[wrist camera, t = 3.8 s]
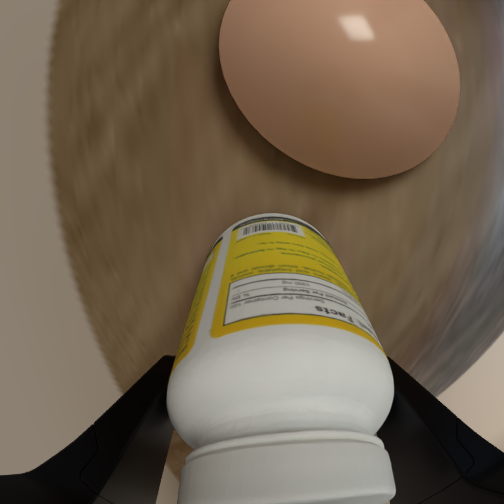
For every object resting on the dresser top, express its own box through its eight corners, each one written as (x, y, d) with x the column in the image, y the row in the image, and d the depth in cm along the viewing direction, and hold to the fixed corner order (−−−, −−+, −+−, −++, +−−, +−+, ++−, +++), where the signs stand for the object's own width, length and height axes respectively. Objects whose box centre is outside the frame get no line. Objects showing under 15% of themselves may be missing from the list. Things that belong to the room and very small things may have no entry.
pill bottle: (259, 336, 16) (257, 535, 6) (181, 260, 13) (87, 486, 4) (354, 279, 14) (443, 486, 4) (286, 181, 12) (390, 451, 2)
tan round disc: (479, 110, 9) (488, 110, 9) (326, 222, 12) (330, 228, 12) (355, -58, 6) (359, -65, 5) (170, 37, 9) (164, 31, 8)
